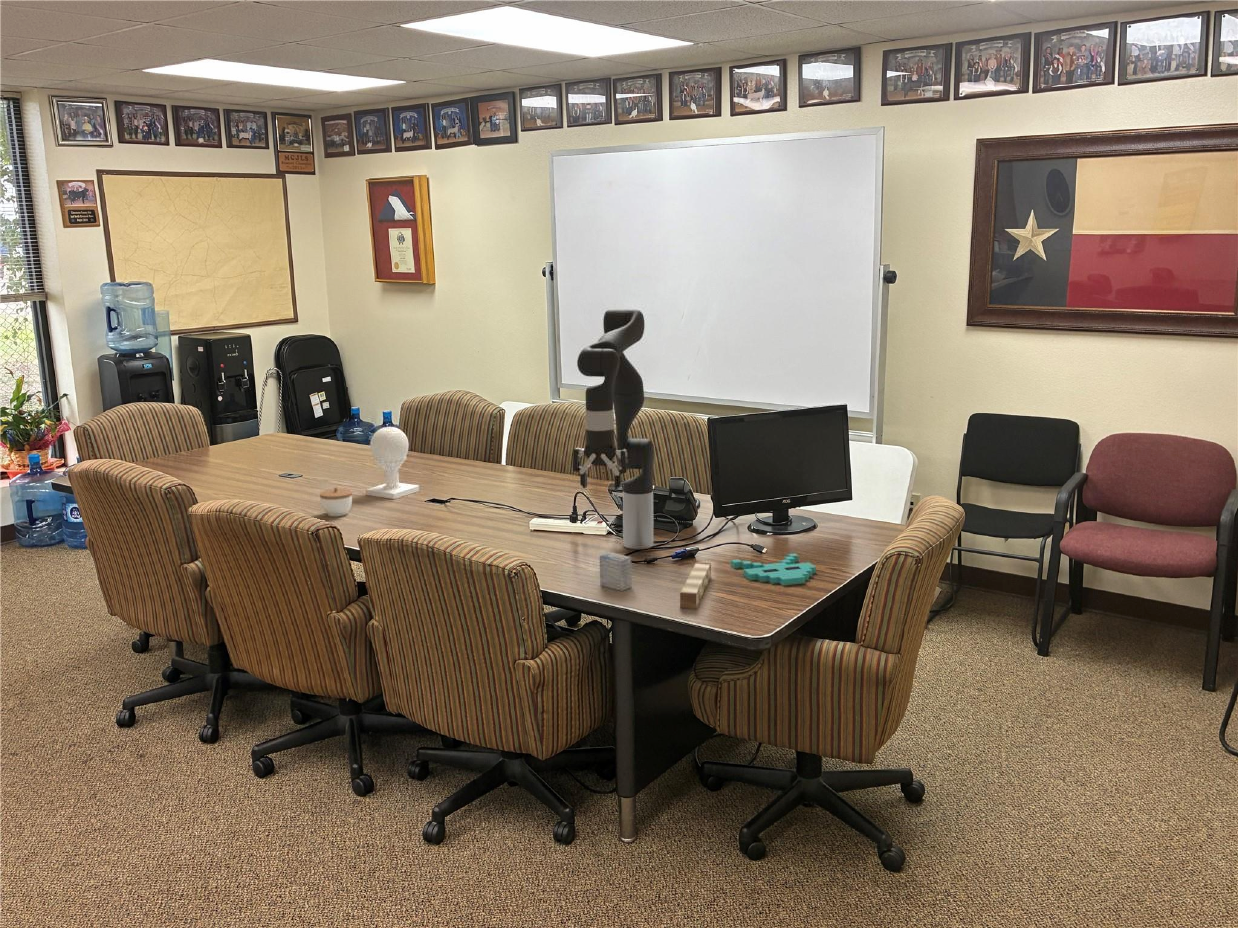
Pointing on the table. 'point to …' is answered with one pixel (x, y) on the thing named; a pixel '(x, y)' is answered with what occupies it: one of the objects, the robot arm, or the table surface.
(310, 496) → the table surface
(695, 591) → the maple rail
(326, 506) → the lidded jar
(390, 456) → the trophy
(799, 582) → the alien figure
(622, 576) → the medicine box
